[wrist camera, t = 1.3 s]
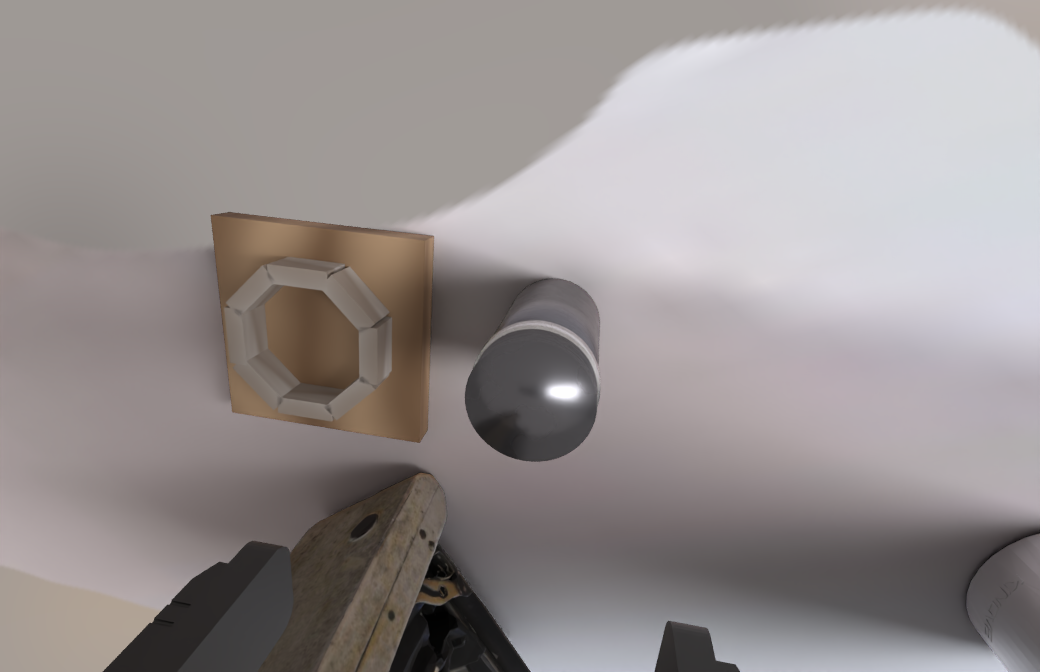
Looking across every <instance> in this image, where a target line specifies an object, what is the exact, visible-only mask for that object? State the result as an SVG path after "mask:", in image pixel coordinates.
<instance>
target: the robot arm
mask: <svg viewBox="0 0 1040 672" xmlns="http://www.w3.org/2000/svg"><path fill="white" fill-rule="evenodd" d="M293 602H294V599H293V586H292V573H291V561H290V552H289V549H288V548H287V547H283V546H278V545H273V544H268V543H262V542H257V541H251V542H249V543H247V544H246V545H245V546H244V547H243V548H242V549H241V550H240V551H239V552H238V554H237V555H236V556H235V557H234V558H233V559H232V560H231V561H230V562H229V563H228V564H227V563H222V562H218V563H217V564H215V565H214V566H212V567H210V568H209V569H207V570H206V571H204V572H202V573H201V574H199V575H198V576H196V577H194V578H193V579H192V580H191V581H190V582H189V583H188V584H187V585H186V586H185V587H184V588H183V589H182V590H181V591H180V592H179V593H178V594H177V595H176V596H175V597H174V598H173V599H172V602H171V604H170V605H167V606H166V607H165V608H164V609H163V610H162V611H161V612H160V613H159V614H158V615H157V616H156V617H155V618H154V621H153V623H149V624H148V625H147V626H146V628H145V629H144V630H143V631H142V632H141V633H140V634H139V635H138V636H137V637H136V638H135V639H134V640H133V641H132V642H131V643H130V644H129V645H128V646H127V647H126V648H125V649H124V650H123V651H122V652H121V654H119V656H117V658H116V659H115V660H114V661H113V662H112V663H111V664H110V665H109V666H108V667H107V668H106V669H105V670H104V671H103V672H257V671H258V670H259V668H260V667H261V665H262V664H263V662H264V661H265V659H266V658H267V656H268V655H269V653H270V652H271V650H272V649H273V647H274V646H275V644H276V643H277V641H278V640H279V638H280V637H281V635H282V634H283V632H284V631H285V629H286V627H287V625H288V622H289V620H290V617H291V614H292V609H293ZM966 608H967V611H968V615H969V618H970V621H971V622H972V624H973V625H974V627H975V628H976V630H977V631H978V633H979V634H980V635H981V637H982V638H983V639H984V641H985V642H986V643H987V644H988V646H989V647H990V648H991V650H992V651H993V652H994V653H995V655H996V656H997V657H998V659H999V660H1000V661H1001V663H1002V664H1003V665H1004V666H1005V668H1006V669H1007V670H1008V672H1040V533H1039V534H1036V535H1033V536H1029V537H1026V538H1023V539H1021V540H1019V541H1017V542H1015V543H1012V544H1010V545H1008V546H1006V547H1005V548H1003V549H1002V550H1000V551H999V552H997V553H996V554H994V555H993V556H992V557H991V558H990V559H989V560H987V561H986V562H985V563H984V564H983V565H982V566H981V567H980V568H979V570H978V571H977V573H976V575H975V576H974V578H973V579H972V581H971V583H970V586H969V589H968V592H967V604H966ZM655 672H740V671H739V669H738V668H737V666H736V665H735V664H730V663H725V662H720V661H716V660H715V655H714V651H713V646H712V641H711V637H710V633H709V631H708V629H707V628H704V627H698V626H693V625H688V624H683V623H677V622H672V621H668V622H667V624H666V627H665V630H664V635H663V639H662V643H661V647H660V651H659V655H658V659H657V664H656V668H655Z"/></svg>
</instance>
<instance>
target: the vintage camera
mask: <svg viewBox="0 0 1040 672" xmlns="http://www.w3.org/2000/svg"><path fill="white" fill-rule="evenodd" d="M446 519H447V508H446V500H445V493H444V492H443V490H442V488H441V487H440V485H439V483H438V482H437V481H436V480H435V478H434V477H433V476H432V475H430V474H425V473H418V474H416V475H414V476H412V477H410V478H408V479H405V480H403V481H401V482H399V483H397V484H395V485H393V486H391V487H389V488H386V489H384V490H382V491H380V492H379V493H377V494H375V495H373V496H372V497H370V498H368V499H365V500H363V501H361V502H358V503H356V504H354V505H352V506H350V507H348V508H346V509H344V510H342V511H340V512H338V513H336V514H334V515H332V516H330V517H328V518H326V519H324V520H322V521H319V522H318V523H317V524H315V525H314V526H313V527H311V528H310V529H309V530H308V531H307V532H306V534H305V535H304V536H303V537H302V538H301V540H300V541H299V542H298V544H297V545H296V546H295V548H294V549H293V550H292V552H291V553H290V561H291V573H292V586H293V599H294V602H293V609H292V614H291V617H290V620H289V622H288V625H287V627H286V629H285V631H284V632H283V634H282V635H281V637H280V638H279V640H278V641H277V643H276V644H275V646H274V647H273V649H272V650H271V652H270V653H269V655H268V656H267V658H266V659H265V661H264V662H263V664H262V665H261V667H260V668H259V670H258V671H257V672H530V670H529V669H528V667H527V666H526V664H525V663H524V662H523V660H522V659H521V657H520V656H519V654H518V653H517V651H516V650H515V649H514V647H513V646H512V644H511V643H510V641H509V640H508V638H507V637H506V636H505V634H504V633H503V631H502V630H501V628H500V627H499V626H498V624H497V623H496V621H495V620H494V618H493V617H492V615H491V614H490V613H489V611H488V610H487V608H486V607H485V606H484V605H483V603H482V602H481V601H480V600H479V598H478V597H477V596H476V595H475V593H474V592H473V591H472V590H471V588H470V587H469V586H468V584H467V583H466V581H465V580H464V578H463V577H462V575H461V574H460V572H459V571H458V569H457V568H456V567H455V565H454V564H453V562H452V561H451V559H450V558H449V557H448V555H447V554H446V553H445V552H444V550H443V549H442V548H441V547H440V545H439V544H438V541H439V538H440V536H441V533H442V531H443V528H444V525H445V522H446Z"/></svg>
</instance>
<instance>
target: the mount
mask: <svg viewBox="0 0 1040 672" xmlns="http://www.w3.org/2000/svg"><path fill="white" fill-rule="evenodd" d="M211 222H212V231H213V240H214V249H215V258H216V268H217V277H218V286H219V295H220V304H221V313H222V322H223V332H224V341H225V350H226V359H227V368H228V377H229V386H230V395H231V405H232V412H234V413H240V414H246V415H253V416H259V417H265V418H271V419H277V420H283V421H289V422H295V423H301V424H308V425H314V426H320V427H326V428H332V429H338V430H344V431H350V432H356V433H363V434H369V435H375V436H381V437H387V438H393V439H399V440H405V441H411V442H418V443H420V441H421V440H422V438H423V437H424V435H425V433H426V432H427V430H428V400H429V370H430V340H431V310H432V280H433V250H434V236H428V235H419V234H411V233H402V232H394V231H385V230H377V229H368V228H360V227H351V226H343V225H333V224H325V223H316V222H309V221H300V220H291V219H282V218H274V217H266V216H257V215H248V214H240V213H232V212H228V213H221V214H215V215H211Z"/></svg>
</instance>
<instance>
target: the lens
mask: <svg viewBox="0 0 1040 672" xmlns="http://www.w3.org/2000/svg"><path fill="white" fill-rule="evenodd" d="M599 336H600V317H599V312H598V309H597V306H596V304H595V302H594V301H593V299H592V298H591V296H590V295H589V294H588V293H587V292H586V291H585V290H584V289H582V288H581V287H580V286H578V285H576V284H574V283H572V282H570V281H567V280H562V279H545V280H541V281H538V282H535V283H533V284H531V285H529V286H528V287H526V288H525V289H524V290H523V291H522V292H521V293H520V294H519V295H518V296H517V298H516V300H515V301H514V303H513V304H512V306H511V308H510V309H509V311H508V313H507V314H506V316H505V317H504V319H503V321H502V322H501V324H500V326H499V327H498V329H497V331H496V332H495V334H494V335H493V336H492V337H491V338H490V339H489V341H488V342H487V343H486V344H485V346H484V347H483V349H482V350H481V352H480V354H479V355H478V357H477V359H476V361H475V364H474V367H473V370H472V372H471V374H470V376H469V378H468V381H467V385H466V391H465V404H466V410H467V413H468V417H469V419H470V421H471V424H472V425H473V427H474V429H475V430H476V432H477V433H478V434H479V436H480V437H481V438H482V439H483V440H484V441H485V442H486V443H487V444H488V445H490V446H491V447H492V448H494V449H495V450H497V451H498V452H500V453H502V454H504V455H506V456H509V457H512V458H515V459H519V460H523V461H548V460H552V459H556V458H559V457H561V456H564V455H566V454H568V453H569V452H571V451H573V450H574V449H575V448H577V447H578V446H579V445H580V444H581V443H582V442H583V441H584V440H585V438H586V437H587V436H588V434H589V433H590V431H591V429H592V427H593V424H594V422H595V417H596V412H597V406H598V402H599V398H600V372H599V367H598V364H599Z"/></svg>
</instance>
